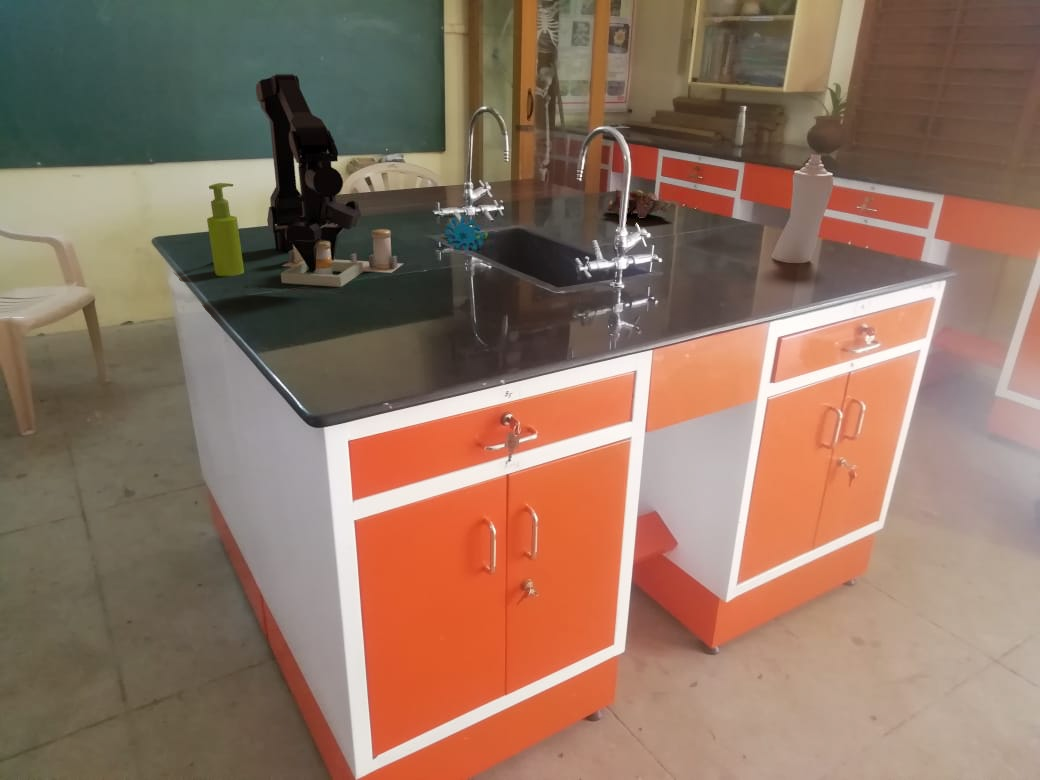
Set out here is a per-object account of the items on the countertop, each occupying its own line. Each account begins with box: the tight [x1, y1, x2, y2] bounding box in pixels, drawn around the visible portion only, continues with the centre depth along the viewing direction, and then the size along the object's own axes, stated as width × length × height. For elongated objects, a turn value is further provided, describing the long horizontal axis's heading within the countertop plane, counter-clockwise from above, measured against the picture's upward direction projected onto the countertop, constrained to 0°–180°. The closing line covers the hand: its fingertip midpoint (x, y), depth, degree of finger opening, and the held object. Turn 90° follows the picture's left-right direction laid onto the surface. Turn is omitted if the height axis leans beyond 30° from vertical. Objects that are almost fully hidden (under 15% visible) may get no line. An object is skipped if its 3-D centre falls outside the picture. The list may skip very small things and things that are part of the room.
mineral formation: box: [606, 188, 680, 218], centre depth 232 cm, size 23×16×10 cm
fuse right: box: [371, 228, 392, 270], centre depth 169 cm, size 4×4×8 cm
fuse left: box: [293, 245, 304, 264], centre depth 172 cm, size 4×4×8 cm
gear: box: [444, 216, 489, 252], centre depth 193 cm, size 11×6×10 cm
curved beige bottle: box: [771, 153, 834, 264], centre depth 181 cm, size 12×11×25 cm
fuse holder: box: [281, 250, 404, 274], centre depth 172 cm, size 26×8×4 cm, turn 79°
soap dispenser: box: [206, 182, 245, 277], centre depth 162 cm, size 6×7×20 cm
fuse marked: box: [313, 241, 334, 275], centre depth 161 cm, size 4×4×8 cm
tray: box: [280, 261, 364, 295], centre depth 162 cm, size 13×12×4 cm
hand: (322, 265), depth 162 cm, fingers open, 9 cm apart
